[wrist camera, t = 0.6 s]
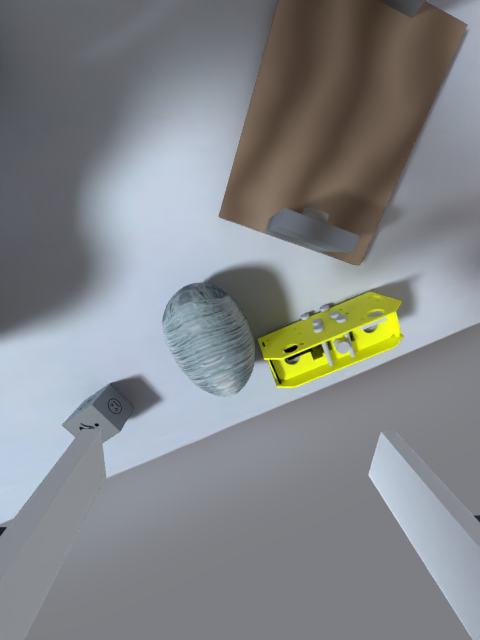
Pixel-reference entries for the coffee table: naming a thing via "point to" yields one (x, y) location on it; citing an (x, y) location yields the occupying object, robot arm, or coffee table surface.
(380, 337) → the yellow toy chassis
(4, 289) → the coffee table surface
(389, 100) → the roll holder
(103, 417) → the dice cube
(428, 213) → the coffee table surface
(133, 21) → the coffee table surface
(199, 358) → the grey egg-shaped piece
